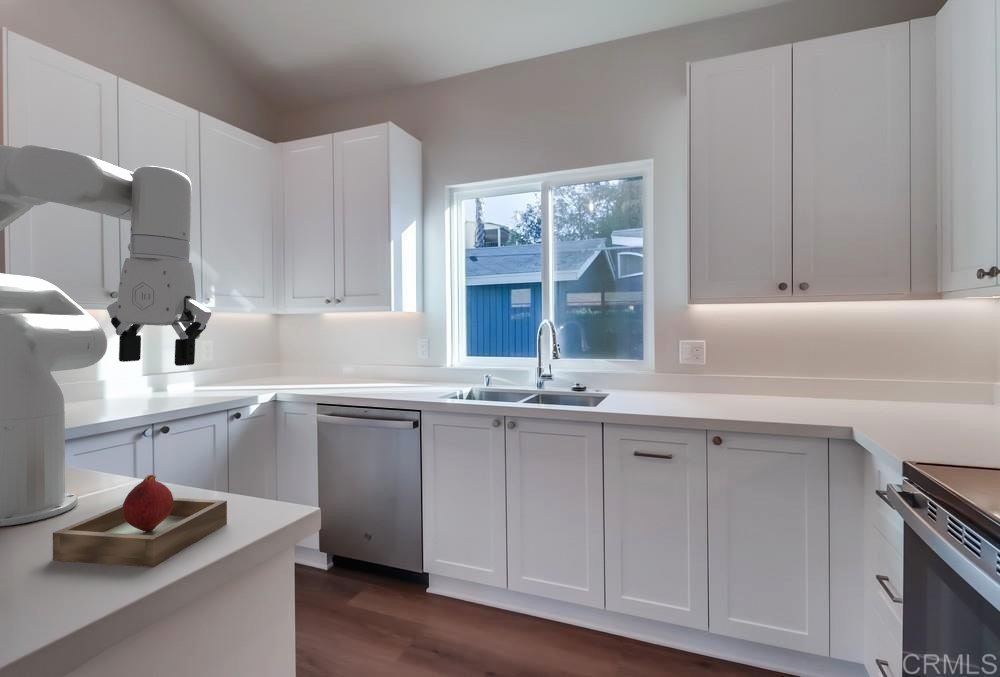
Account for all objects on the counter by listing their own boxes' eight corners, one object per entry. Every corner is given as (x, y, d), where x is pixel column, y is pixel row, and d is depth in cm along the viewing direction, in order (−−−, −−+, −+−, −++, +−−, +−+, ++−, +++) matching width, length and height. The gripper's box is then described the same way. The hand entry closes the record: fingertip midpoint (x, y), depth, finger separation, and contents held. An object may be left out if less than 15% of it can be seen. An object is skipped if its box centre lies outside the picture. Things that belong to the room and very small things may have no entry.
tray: (52, 559, 64) (52, 532, 64) (143, 518, 78) (142, 496, 78) (152, 567, 62) (152, 539, 62) (226, 523, 76) (226, 500, 76)
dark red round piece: (146, 542, 67) (147, 482, 67) (111, 537, 68) (111, 479, 68) (182, 526, 72) (183, 470, 72) (149, 521, 74) (150, 467, 73)
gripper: (88, 246, 74) (85, 361, 75) (191, 249, 71) (187, 368, 72) (133, 253, 82) (130, 358, 82) (228, 256, 79) (224, 365, 79)
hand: (156, 363), depth 77 cm, fingers open, 9 cm apart
